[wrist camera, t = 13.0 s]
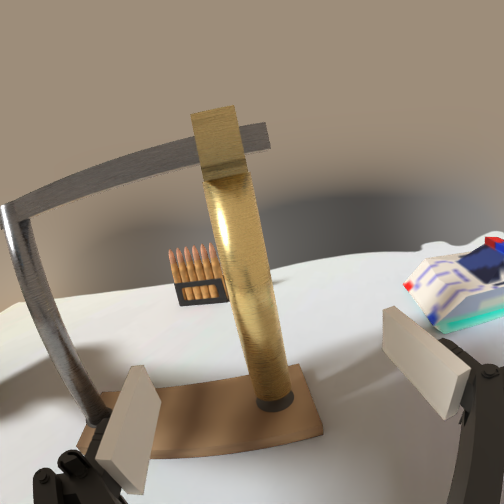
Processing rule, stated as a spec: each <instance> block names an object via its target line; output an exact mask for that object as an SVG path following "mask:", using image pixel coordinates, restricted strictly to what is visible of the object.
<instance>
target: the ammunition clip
mask: <svg viewBox="0 0 504 504" xmlns="http://www.w3.org/2000/svg"><path fill="white" fill-rule="evenodd" d="M209 251H210V257H211V263H210V261H209V258H208V254H207V251H206V249H205V247H204V245H203V244H201V255H202V260H203V265H202V263H201V259H200V256H199V253H198V251H197V249H196V247H195V246H193V257H194V262H195V266H194V264H193V261H192V258H191V255H190V252H189V250H188V249H187V247H185V258H186V263H187V267H186V265H185V262H184V259H183V256H182V254H181V252H180V250H179V249H178V248H177V259H178V264H179V268H178V266H177V262H176V260H175V257H174V254H173V252H172V251H171V250H169V259H170V263H171V269H172V274H173V278H174V281H175V283H174V285H175V289H176V293H177V297H178V301H179V305H180V306H190V305H202V304H214V303H224V302H228V300H229V295H228V291H227V287H226V283H225V279H224V276H223V275H222V271H221V267H220V263H219V261H218V258H217V255H216V251H215V249H214V247H213V245H212V243H210V244H209Z"/></svg>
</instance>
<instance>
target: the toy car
mask: <svg viewBox="0 0 504 504" xmlns="http://www.w3.org/2000/svg"><path fill="white" fill-rule="evenodd" d="M403 285H404V287H405V288H406V289H407V291H408V292H409V293H410V295H411V296H412V297H413V299H414V300H415V301H416V303H417V304H418V305H419V307H420V308H421V309H422V311H423V312H424V314H425V315H426V316H427V318H428V319H429V321H430V322H431V323H432V325H433V326H434V327H435V328H437V329H438V330H439V331H441V332H442V333H443V334H447V333H451V332H454V331H458V330H462V329H465V328H469V327H472V326H475V325H479V324H482V323H485V322H488V321H491V320H494V319H497V318H500V317H503V316H504V240H503V239H501V238H499V237H485V244H483V245H482V246H480V247H479V248H477V249H475V250H474V251H472V252H465V253H459V254H452V255H446V256H439V257H432V258H425V260H424V261H423V262H422V263H421V264H420V265H419V267H418V268H417V269H416V270H415V271H414V272H413V273H412V275H411V276H410V277H409V278H408V279H407V280H406V281H405V282H404V283H403Z"/></svg>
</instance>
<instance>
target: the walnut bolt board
mask: <svg viewBox="0 0 504 504" xmlns="http://www.w3.org/2000/svg"><path fill="white" fill-rule="evenodd" d="M288 370H289V376H290V382H291V390H290V392H289V393H288V394H287V395H286V396H285V397H283V398H281V399H279V400H276V401H263V400H260V399H259V398H257V397H256V396H255V393H254V390H253V386H252V383H251V379H250V375H245V376H240V377H234V378H229V379H223V380H217V381H211V382H204V383H198V384H190V385H183V386H175V387H166V388H156V389H155V390H156V392H157V394H158V396H159V398H160V400H161V407H160V411H159V416H158V420H157V425H156V430H155V435H154V440H153V444H152V450H151V455H150V459H172V458H191V457H204V456H215V455H223V454H231V453H239V452H245V451H252V450H258V449H263V448H268V447H274V446H278V445H283V444H288V443H292V442H296V441H300V440H304V439H308V438H312V437H316V436H319V435H323V425H322V422H321V420H320V417H319V414H318V412H317V409H316V407H315V404H314V401H313V399H312V396H311V394H310V391H309V388H308V386H307V383H306V381H305V378H304V375H303V373H302V370H301V368H300V365H299V364H295V365H291V366H288ZM120 392H121V391H117V392H102V393H101V395H100V397H101V398H102V400H103V402H104V403H105V405H106V407H107V408H108V410H109V411H110V417H111V414H112V412H113V409H114V407H115V404H116V402H117V399H118V397H119V394H120ZM86 423H87V424H86V426H85V428H84V430H83V432H82V435H81V437H80V439H79V441H78V443H77V445H76V447H77V448H78V449H79V450H80V452H81V453H82V454H83V455H85V454H86V452H87V449H88V447H89V444H90V442H91V441H92V437H93V435H94V432H95V429H96V427H97V426H95V425H92V424H90V423H89V421H88V420H87V418H86Z"/></svg>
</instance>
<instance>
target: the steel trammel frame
mask: <svg viewBox="0 0 504 504" xmlns="http://www.w3.org/2000/svg"><path fill="white" fill-rule="evenodd" d="M239 131H240V135H241V140H242V145H243V150H244V155H249V154H254V153H260V152H265V151H268V150H269V149H271V148H270V142H269V137H268V133H267V128H266V123H265V122H262V123H257V124H251V125H245V126H240V127H239ZM198 165H200V160H199V155H198V150H197V145H196V140H195V136H193V137H189V138H185V139H181V140H177V141H173V142H169V143H166V144H162V145H159V146H155V147H151V148H148V149H145V150H141V151H138V152H135V153H132V154H128V155H125V156H122V157H119V158H117V159H114V160H110V161H107V162H105V163H102V164H99V165H96V166H93V167H91V168H88V169H85V170H83V171H80V172H77V173H75V174H72V175H70V176H67V177H65V178H62V179H60V180H58V181H55V182H53V183H50V184H48V185H46V186H44V187H42V188H39V189H37V190H35V191H33V192H30V193H29V194H26V195H24V196H22V197H20V198H18V199H16V200H14V201H11V202H8V203H6V204H4V205H2V206H0V226H1V230H2V229H4V233H5V237H6V241H7V245H8V249H9V253H10V256H11V260H12V263H13V266H14V269H15V272H16V276H17V279H18V281H19V285H20V287H21V290H22V293H23V296H24V298H25V301H26V304H27V306H28V309H29V311H30V314H31V316H32V319H33V321H34V323H35V326H36V328H37V330H38V333H39V335H40V337H41V339H42V341H43V343H44V345H45V347H46V350H47V352H48V354H49V356H50V358H51V359H52V361H53V363H54V365H55V367H56V369H57V371H58V373H59V374H60V376H61V378H62V380H63V382H64V383H65V385H66V387H67V388H68V390H69V392H70V393H71V395H72V397H73V398H74V400H75V401H76V403H77V405H78V406H79V408H80V409H81V411H82V412H83V414H84V415H85V417H86V418H87V420H88V421H89V423H90V424H92V425H95V426H97V425H98V424H99V423H100V422H101V421H102V419H103V418H110V411H109V410H108V408H107V407H106V405H105V403H104V402H103V400H102V398H101V397H100V395H99V393H98V391H97V390H96V388H95V386H94V384H93V383H92V381H91V379H90V377H89V375H88V373H87V372H86V370H85V368H84V366H83V364H82V362H81V360H80V358H79V356H78V354H77V352H76V350H75V348H74V345H73V343H72V341H71V339H70V337H69V335H68V332H67V330H66V328H65V325H64V323H63V321H62V318H61V316H60V313H59V311H58V308H57V306H56V303H55V301H54V298H53V295H52V293H51V290H50V287H49V284H48V281H47V278H46V275H45V272H44V269H43V266H42V263H41V259H40V256H39V253H38V249H37V246H36V242H35V238H34V234H33V230H32V226H31V222H30V219H31V218H34V217H36V216H38V215H41V214H44V213H46V212H48V211H51V210H54V209H56V208H59V207H62V206H64V205H67V204H70V203H73V202H75V201H78V200H81V199H84V198H87V197H90V196H92V195H96V194H99V193H102V192H105V191H107V190H111V189H114V188H117V187H120V186H124V185H127V184H130V183H133V182H137V181H140V180H144V179H148V178H151V177H155V176H158V175H162V174H166V173H169V172H173V171H177V170H181V169H185V168H190V167H193V166H198Z"/></svg>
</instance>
